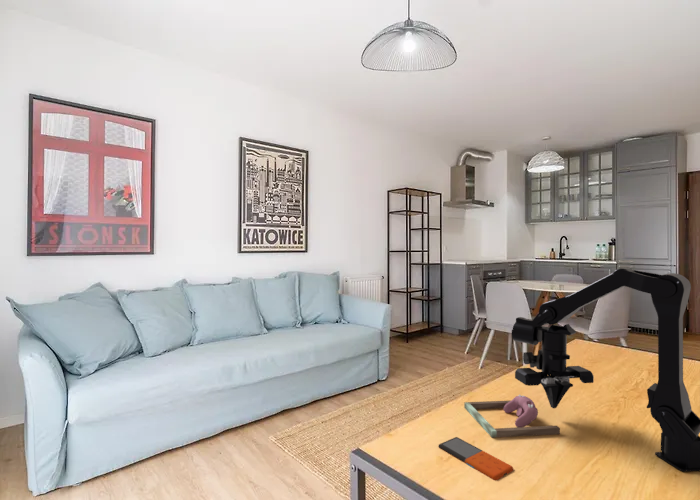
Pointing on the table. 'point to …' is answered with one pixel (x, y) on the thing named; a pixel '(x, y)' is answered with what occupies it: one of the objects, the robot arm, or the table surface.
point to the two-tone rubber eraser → (476, 458)
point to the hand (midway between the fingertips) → (553, 407)
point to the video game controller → (522, 410)
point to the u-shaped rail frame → (505, 432)
